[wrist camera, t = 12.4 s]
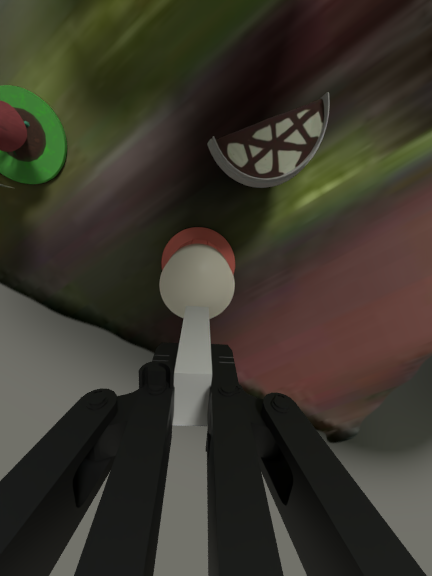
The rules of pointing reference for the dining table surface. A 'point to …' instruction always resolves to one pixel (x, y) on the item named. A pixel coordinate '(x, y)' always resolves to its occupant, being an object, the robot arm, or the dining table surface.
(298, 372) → the dining table surface
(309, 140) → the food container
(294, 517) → the robot arm
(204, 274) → the grey rounded piece
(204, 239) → the red flanged cylinder
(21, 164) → the translucent plastic tub
